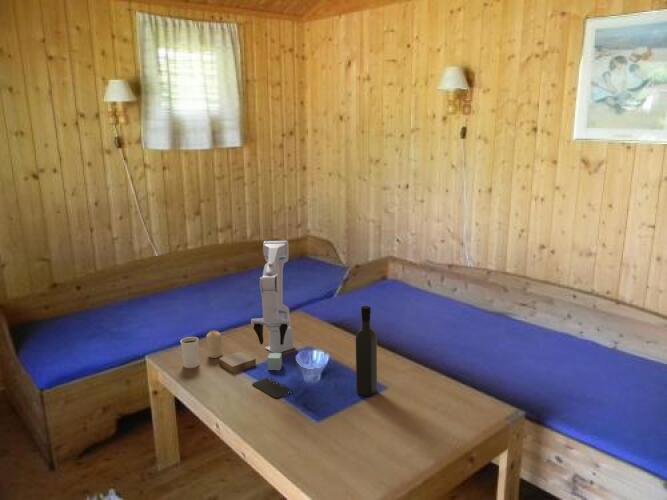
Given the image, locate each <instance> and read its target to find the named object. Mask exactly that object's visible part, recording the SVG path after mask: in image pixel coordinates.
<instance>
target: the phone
mask: <svg viewBox="0 0 667 500" xmlns="http://www.w3.org/2000/svg"><path fill="white" fill-rule="evenodd" d="M268 378H269V377H266V378H262V379H259V380H257V381H255V382H253V383H252V384H251V386H252V387H254V388H256V389H257V390H259V391H260V392H262V393H264V394H266V395H268V396H269V397H271V398H272V399H274V400H279V399H281V397H282V398H284V397H285V396H284V395H286V394H288V392H289V391H290V392H292V393H293V390H292V389H290V388H289V387H287V386H285V385H283V384H281V383H279V382H278V381H276V380H274V381H275V382H274V381H272V380H273V379H272V378H270V380H271V379H272V380H271V382H270V380H269V379H268ZM276 382H277V384H276ZM273 383H274V384H273ZM280 385H281V386H280ZM282 386H283V387H282ZM290 392H289V393H290ZM283 396H284V397H283Z"/></svg>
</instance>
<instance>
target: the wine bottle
mask: <svg viewBox="0 0 667 500" xmlns="http://www.w3.org/2000/svg"><path fill="white" fill-rule="evenodd" d="M360 308H361V309H360V310H361V313H360V314H361V328H360V329H359V330H358V331H357V333H356V336H355V380H356V381H355V383H356V389H355V390H356V394H357V395H361V396H364V397H368V398H369V397H373V395H375V393H377V392H378V354H377V353H378V351H377V350H378V341H377V340H378V338H377V337H378V336H377V333H376V332H375V330H374V329H373V328H371V312H372V311H371V310H372V309H371V306H369V305H365V306H361V307H360Z"/></svg>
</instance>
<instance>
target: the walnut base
mask: <svg viewBox="0 0 667 500" xmlns="http://www.w3.org/2000/svg"><path fill="white" fill-rule="evenodd" d="M218 364H219V365H220V366H221V367H223V368H224V369H226V370H227V371H228V372H230V373H231V374H234V373H237V372H240V371H243V370H246V369H249V368H251V366H252V367H255V366H256V365H257V361H256V358H255V357H253V356H251V355H250V354H248V353H246V352H245V351H242V350H241V351H237V352H235V353H231V354H229V355H226V356H221V357H218Z"/></svg>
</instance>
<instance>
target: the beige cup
mask: <svg viewBox="0 0 667 500" xmlns="http://www.w3.org/2000/svg"><path fill="white" fill-rule="evenodd" d="M199 342H200V340H199V338H198V337H196V336H187V337H184V338H182V339H181V340H180V347H181V355H182V362H183V367H184V368H185V369H194V368H197V367H198V366H199V365H200V347H199V345H200V344H199Z"/></svg>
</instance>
